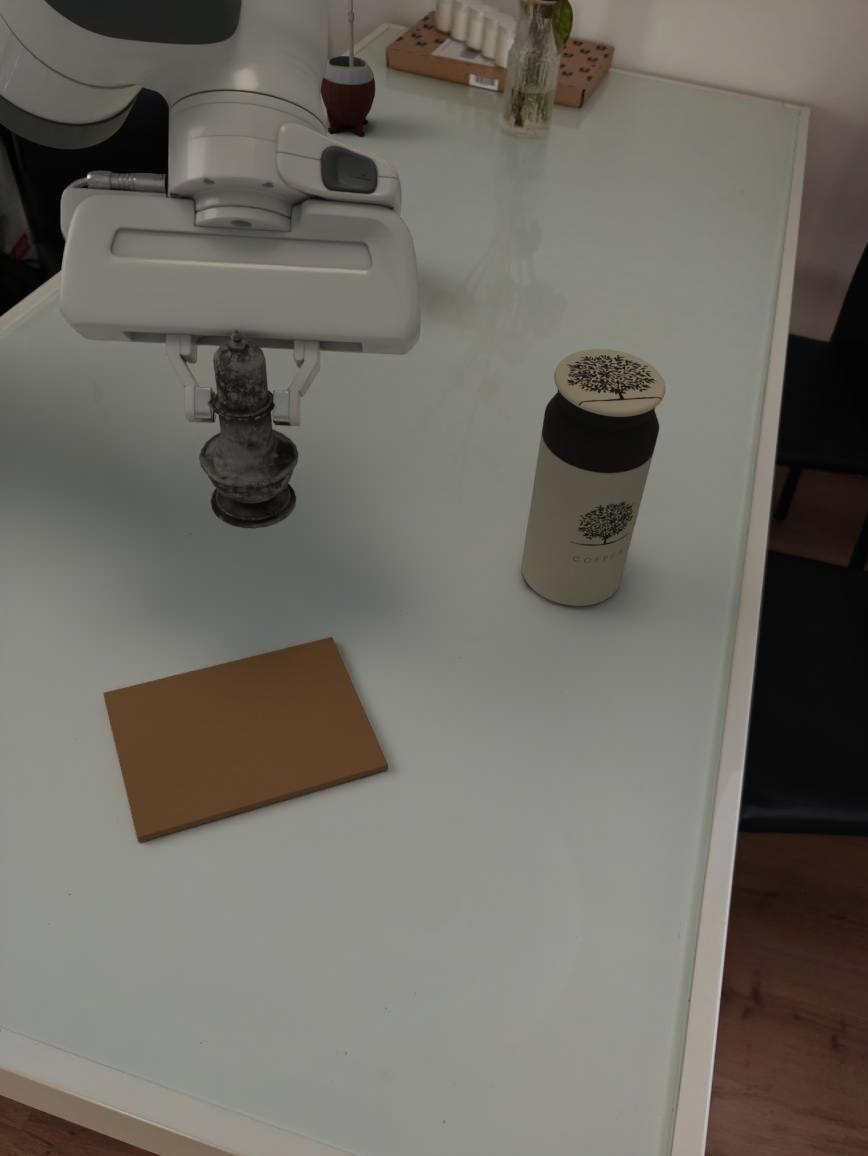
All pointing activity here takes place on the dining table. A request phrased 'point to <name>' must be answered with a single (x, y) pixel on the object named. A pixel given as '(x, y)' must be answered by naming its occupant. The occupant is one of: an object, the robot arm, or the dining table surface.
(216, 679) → the cork mat
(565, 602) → the travel mug
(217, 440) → the salt shaker
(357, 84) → the mate gourd
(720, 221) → the dining table surface
